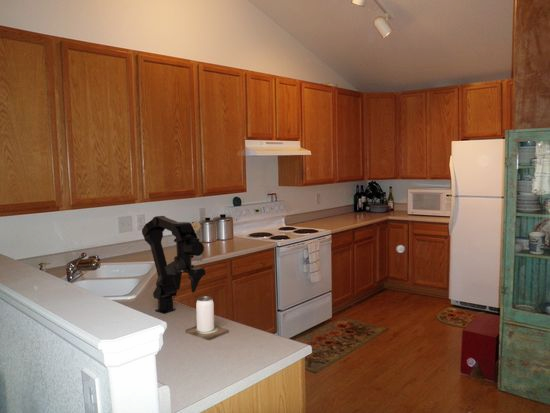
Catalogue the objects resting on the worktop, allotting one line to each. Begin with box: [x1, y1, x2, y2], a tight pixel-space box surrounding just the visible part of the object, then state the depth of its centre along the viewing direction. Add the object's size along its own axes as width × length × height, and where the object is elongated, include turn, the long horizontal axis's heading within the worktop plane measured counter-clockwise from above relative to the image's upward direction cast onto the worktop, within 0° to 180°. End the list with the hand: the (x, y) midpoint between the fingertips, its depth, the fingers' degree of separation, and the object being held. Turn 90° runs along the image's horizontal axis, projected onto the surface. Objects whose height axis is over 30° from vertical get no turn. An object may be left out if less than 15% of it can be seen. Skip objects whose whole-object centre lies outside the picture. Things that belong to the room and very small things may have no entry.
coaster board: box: [185, 324, 230, 341], centre depth 168 cm, size 13×10×1 cm
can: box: [195, 296, 215, 332], centre depth 167 cm, size 6×6×12 cm
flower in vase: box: [191, 220, 202, 257], centre depth 316 cm, size 13×11×25 cm
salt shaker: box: [193, 240, 203, 261], centre depth 301 cm, size 6×6×13 cm
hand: (185, 290), depth 182 cm, fingers open, 9 cm apart
